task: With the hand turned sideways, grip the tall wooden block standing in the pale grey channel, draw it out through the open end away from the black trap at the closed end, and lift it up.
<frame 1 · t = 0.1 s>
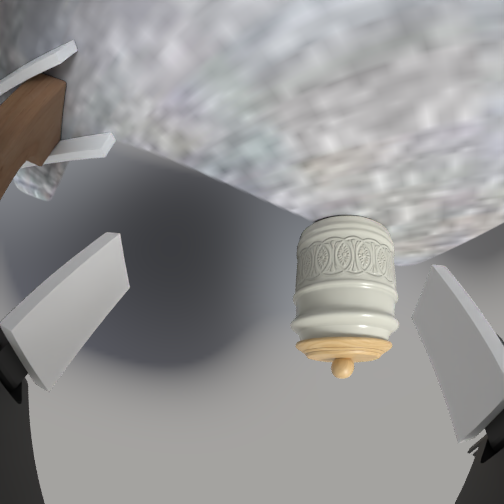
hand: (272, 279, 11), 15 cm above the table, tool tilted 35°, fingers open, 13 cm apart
jar: (345, 240, 36), on the table
wooden block: (49, 105, 20), resting in channel
channel: (22, 117, 20), on the table
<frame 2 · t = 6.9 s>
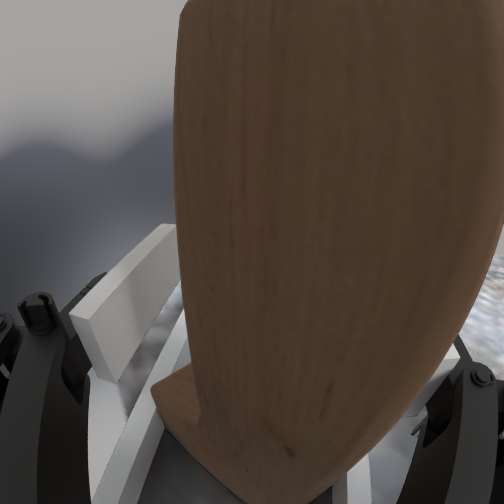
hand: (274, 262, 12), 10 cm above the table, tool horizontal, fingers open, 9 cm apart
wooden block: (242, 455, 12), resting in channel, touching gripper
channel: (256, 385, 17), on the table
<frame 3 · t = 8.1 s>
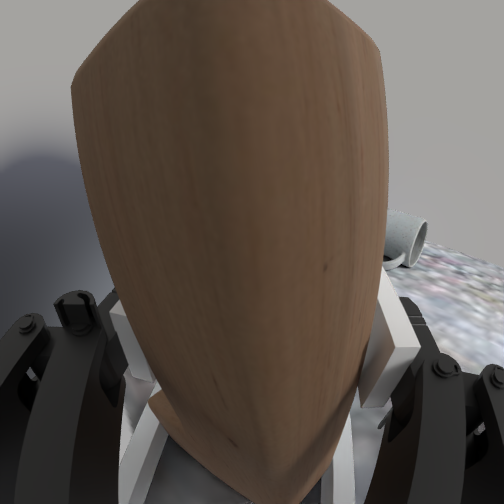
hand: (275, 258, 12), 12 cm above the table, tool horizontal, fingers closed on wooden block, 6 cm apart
wooden block: (245, 456, 13), point 1 cm above the table, touching gripper
ceramic mug: (390, 261, 40), on the table
channel: (252, 398, 18), on the table
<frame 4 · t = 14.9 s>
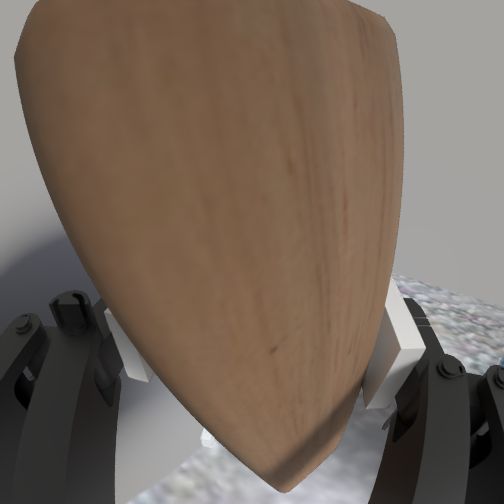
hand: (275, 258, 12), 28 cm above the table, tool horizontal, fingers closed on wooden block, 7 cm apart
wooden block: (261, 427, 15), point 17 cm above the table, touching gripper
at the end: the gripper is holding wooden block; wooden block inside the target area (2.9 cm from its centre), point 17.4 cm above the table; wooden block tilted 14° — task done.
